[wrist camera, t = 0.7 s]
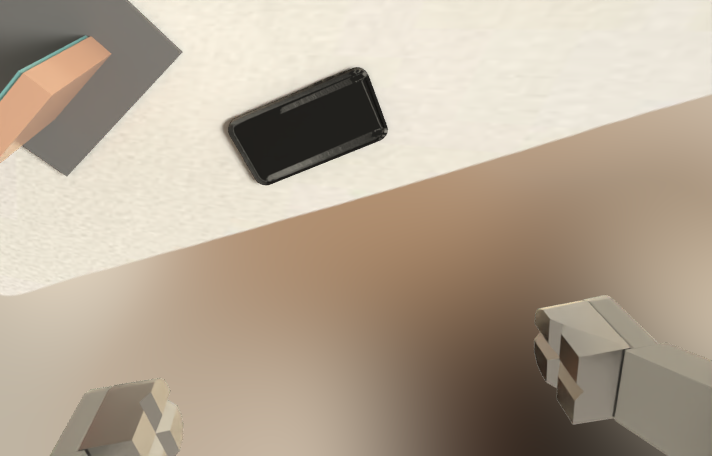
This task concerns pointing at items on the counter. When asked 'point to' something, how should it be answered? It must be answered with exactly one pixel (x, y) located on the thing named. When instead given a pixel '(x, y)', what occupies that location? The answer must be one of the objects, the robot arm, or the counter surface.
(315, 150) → the phone
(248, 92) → the counter surface
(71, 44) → the tile
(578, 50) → the counter surface
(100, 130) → the mat
